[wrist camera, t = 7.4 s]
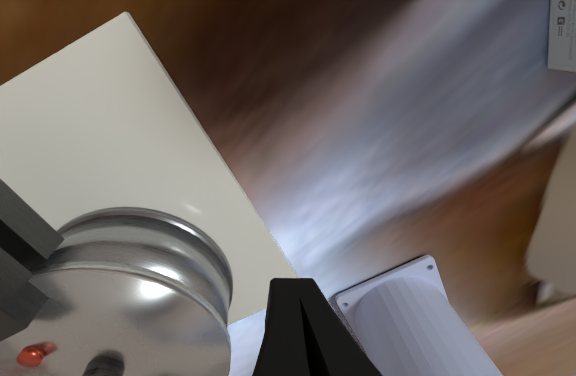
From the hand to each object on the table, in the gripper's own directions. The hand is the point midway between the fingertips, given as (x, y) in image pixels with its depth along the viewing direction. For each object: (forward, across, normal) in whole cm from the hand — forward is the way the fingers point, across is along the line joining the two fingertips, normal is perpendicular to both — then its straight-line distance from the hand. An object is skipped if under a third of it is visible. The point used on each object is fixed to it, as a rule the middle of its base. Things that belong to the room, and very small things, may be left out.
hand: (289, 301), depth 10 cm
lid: (+5, +9, +7) cm, 13 cm away
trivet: (+10, +9, +5) cm, 15 cm away
